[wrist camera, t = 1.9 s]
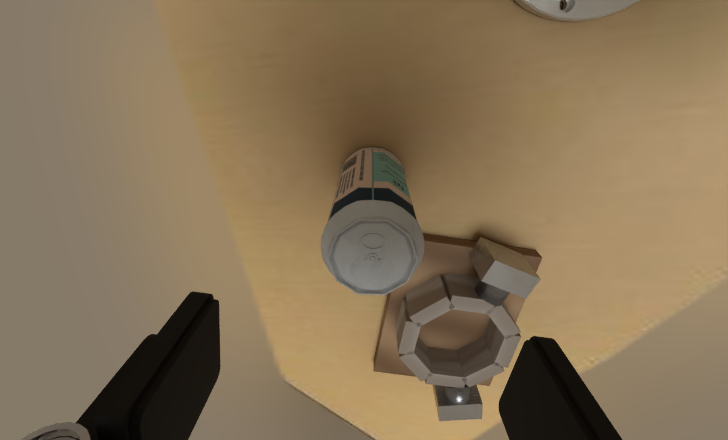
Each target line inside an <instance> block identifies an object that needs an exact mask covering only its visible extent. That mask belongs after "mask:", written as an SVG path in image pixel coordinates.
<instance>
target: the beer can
mask: <svg viewBox="0 0 728 440" xmlns="http://www.w3.org/2000/svg"><path fill="white" fill-rule="evenodd" d="M321 251H322V257H323V260H324V262H325V264H326V266H327V268H328V269H329V271H330V272H331V274H332V275H333V276H334V277H335V279H336V281H338V282H339V283H341V284H342V285H344V286H346V287H347V288H349V289H350V290H352V291H353V292H355V293H357V294H361V295H386V294H388V293H390V292H391V291H393V290H395V289H397V288H399V287H400V286H402V285H404V284H406V283H408V280H409V279H410V278H411V277H412V275H413V274H414V273H415V271H416V270H417V268H418V267H419V265H420V263H421V261H422V258H423V254H424V237H423V233H422V230H421V228H420V226H419V224H418V222H417V219H416V216H415V212H414V209H413V205H412V202H411V198H410V195H409V191H408V188H407V184H406V181H405V173H404V169H403V166H402V164H401V162H400V161H399V160H398V158H397V157H396V156H394V155H393V154H392V153H391V152H389V151H387V150H385V149H382V148H377V147H367V148H362V149H360V150H358V151H355V152H354V153H353V154H352V155H350V156H349V157H348V158H347V159H346V160H345V162H344V164H343V166H342V168H341V172H340V178H339V182H338V186H337V190H336V193H335V197H334V200H333V204H332V208H331V211H330V215H329V219H328V222H327V225H326V226H325V229H324V232H323V234H322V239H321Z"/></svg>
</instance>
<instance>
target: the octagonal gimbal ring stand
mask: <svg viewBox="0 0 728 440" xmlns="http://www.w3.org/2000/svg"><path fill="white" fill-rule="evenodd" d="M423 237H424V254H423V258H422V261H421V263H420V265H419V267H418V268H417V270H416V271H415V273H414V274H413V275H412V277H411V278H410V279H409V280H408V283H406V284H404V285H402V286H400V287H399V288H397V289H395V290H393V291H391V292H390V293H388V297H387V301H386V306H385V311H384V315H383V320H382V325H381V329H380V334H379V338H378V343H377V348H376V352H375V357H374V371H376V372H384V373H392V374H399V375H407V376H415V377H417V378H418V379H419V380H420V381H423V380H425V383H426V384H432V385H440V386H448V387H456V388H464V386H465V383H466V385H467V386H468V387H471V386H474V385H476V384H478V385H486V386H490V384H491V381H492V379H493V376H495V375H497V374H499V373H501V372H503V371H504V369H503V367H508V366H509V364H510V362H511V359H512V357H513V355H514V352H515V350H516V348H517V345H518V343H519V341H520V338H521V336H520V334H519V333H520V330H519V328H518V326H517V325H516V320H517V318H518V315H519V313H520V311H521V308H522V306H523V303H524V301H525V298H522V297H520V296H517V295H515V294H512V293H510V294H509V296H508V297H507V298H506V300H505V301H504V302H503V304H502V305H501V306H494V305H492V304H490V303H488V302H486V301H485V300H483V299H482V298H481V297H480V296H479V295H478V294H477V293H476V291H475V286H476V285H477V283H478V282H479V280H480V278H479V276H478V274H477V272H476V270H475V268H474V266H473V264H472V262H471V260H470V258H469V254H470V252H471V251H472V249H473V248H474V246H475V245H476V243H477V242H475V241H469V240H462V239H455V238H448V237H441V236H434V235H427V234H423ZM501 246H503V245H501ZM504 247H506V248H509V249H511V250H513V251H516V252H518V253H520V254H522V256H523V257H524V258H525V260H526V261H527V262H528V263H529V265H530V266H531V267H532V269H533V270H534V271H535V272H537V269H538V267H539V264H540V262H541V259H542V257H541V256H540V255H539V253H538V252H537V251H536V250H531V249H524V248H517V247H510V246H504Z"/></svg>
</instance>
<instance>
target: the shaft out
mask: <svg viewBox="0 0 728 440" xmlns="http://www.w3.org/2000/svg"><path fill="white" fill-rule="evenodd" d="M433 391H434V396H435V401H436V407H437V412H438V417H439V421H450V420H467V419H482V405H483V404H482V401H481V397H480V394H479V391H478V388H477V385H474V386H471V387H468V386H467V385H466V383H465V386H464V388H456V387H448V386H440V385H433Z"/></svg>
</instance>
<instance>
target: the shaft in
mask: <svg viewBox="0 0 728 440" xmlns="http://www.w3.org/2000/svg"><path fill="white" fill-rule="evenodd" d="M469 258H470V260H471V262H472V264H473V266H474V268H475V270H476V272H477V274H478V276H479V278H480V280H479V282H478V283H477V285H476V286H475V291H476V293H477V294H478V295H479V296H480V297H481V298H482V299H483V300H485V301H486V302H488V303H490V304H492V305H494V306H501V305H502V304H503V302H504V301H505V300H506V298H507V297H508V296H509V294H510V293H512V294H515V295H517V296H520V297H522V298H525V299H526V298H527V296H528V295H529V294H530V292H531V291H532V290H533V288H534V287H535V286H536V285H537V283H538V282H539V281H540V278H539V276H538V275H537V274H536V272H535V271H534V270H533V269H532V267H531V266H530V265H529V263H528V262H527V261H526V260H525V258H524V257H523V256H522V254H520V253H518V252H516V251H513V250H511V249H509V248H506V247H504V246H501V245H499V244H497V243H494V242H492V241H489V240H487V239H485V238H482V237H480V238H479V240H478V242H477V243H476V245H475V246H474V248H473V249H472V251H471V252H470V254H469Z"/></svg>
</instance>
